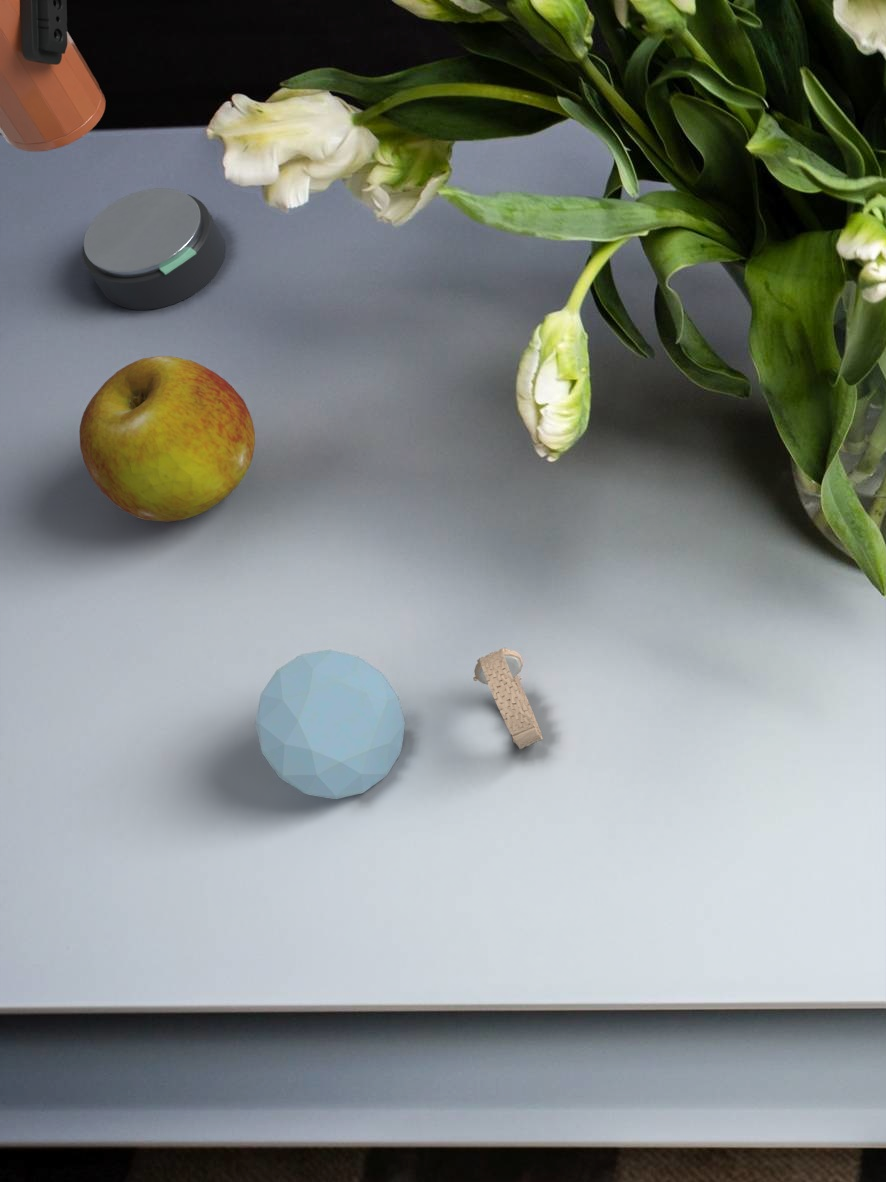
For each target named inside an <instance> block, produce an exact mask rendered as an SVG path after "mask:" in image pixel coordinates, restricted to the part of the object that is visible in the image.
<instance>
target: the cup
mask: <svg viewBox="0 0 886 1182" xmlns="http://www.w3.org/2000/svg"><path fill="white" fill-rule="evenodd" d="M67 42H68V44H67V48H66V51H65V54H62V60H61V62H60V63H59V64H58V65H54V64H44V63H39V62H33V61H29V60H26V59H25V57H24V56H23V53H22V38H21V2H20V0H0V134H1V135H2V137H3V138H4V139H5V141H6V142H7V143H8V144H9V146H12V147H13V148H15V149H17V150H21V151H23V152H28V153H29V152H31V153H34V152H35V153H39V152H48V151H53V150H57V149H59V148H63V147H65V146H68V145H71V144H72V143H74V142H76V141H78V140H79V139H81V138H82V137H84V136H86V135H87V134H88V133H89V132H90V131H92V130H93V128H95V127H96V126H97V124H98V123H99V122H100V121H101V119H102V117H103V116H104V113H105V110H106V105H107V104H106V103H107V102H106V97H105V94H104V93H103V91H102V89H101V88H100V85H99V82H98V81H97V79H96V77H95V76H94V74H93V72H92V71H91V69H90V67H89V66H88V64H87V62H86V60H85V58H84V57H83V55H82V53H81V52H80V51H79V49H78V47H77V46H76V45H77V44H76V43H75V42H74V40H73V39H72V37H71V35H70V33H69V32H68V31H67Z"/></svg>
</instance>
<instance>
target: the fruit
mask: <svg viewBox="0 0 886 1182" xmlns="http://www.w3.org/2000/svg"><path fill="white" fill-rule="evenodd" d="M255 445H256V433H255V427H254V421H253V418H252V415H251V413H250V410H249V408H248V407H247V404H246V402H245V400H244V398H242V396H241V395H240V393H238V392H237V390H236V389H235V388H234V387H233V386H232V385H231V384H230V383H229V382H228V381H227V380H226V379H225V378H223V377H222V376H220V375H219V374H218V373H216V372H215V371H213V370H211V369H209V368H207V367H206V366H204V365H202V364H201V363H197V362H196V361H193V360H190V359H184V358H180V357H175V356H163V355H157V356H150V357H143V358H141V359H138V360H136V361H134V362H132V363H129V364H127V365H125V366H124V367H122V368H121V369H119V370H118V371H116V372H115V373H114V374H113V375H112V376H110V378H109V379H106V381H105V382H104V383H103V384H102V385H101V386H100V388H99V389H98V390H97V392H95V394H94V395H93V396H92V398H91V399H90V401H89V403H88V404H87V406H86V407H85V409H84V411H83V414H82V417H81V420H80V425H79V448H80V451H81V457H82V460H83V462H84V464H85V467H86V469H87V471H88V473H89V475H90V477H91V479H92V480H93V482H94V483H95V484H96V486H97V488H98V489H99V490H100V492H101V493H102V494H103V495H104V496H105V497H106V498H108V499H109V501H111V503H113V504H114V505H115V506H116V507H118V508H119V509H121V510H122V511H124V512H126V513H128V514H130V515H132V516H134V517H135V518H138V519H142V520H144V521H153V522H154V521H155V522H166V523H167V522H168V523H169V522H177V521H182V520H183V521H184V520H187V519H191V518H193V517H194V518H195V517H197V516H199V515H201V514H203V513H205V512H207V511H208V510H210V509H211V508H213V507H214V506H216V505H217V504H219V503H220V502H222V501H224V500H225V499H226V498H227V497H228V496H229V495H230V494H231V493H232V492H233V491H235V489H236V488H237V487H238V486H239V484H240V483H241V482H242V480H243V479H244V477H245V476H246V474H247V472H248V470H249V468H250V466H251V463H252V460H253V458H254V457H253V456H254V453H255Z"/></svg>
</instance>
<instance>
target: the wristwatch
mask: <svg viewBox="0 0 886 1182" xmlns="http://www.w3.org/2000/svg"><path fill="white" fill-rule="evenodd" d="M476 662H477V663H476V664H475V667H474V670H473V671H474V672H473V673H474V677H472V678H473V681H475V682H476V681H478V682H479V683H481V684H483V685H487V686H488V688H489V689H490V692H491V694H492V697H493V699H494V702H495V704H496V706H497V708H498V710H499V713H500V715H501V716H502V719H503V721H504V723H505V725H506V727H507V730H508V732H509V734H510V735H511V736H512V740H511V741H512V742H513V743H514V744H516V746H517V747H518V749H519V750H522V749H524V748H526V747H529V746H530V745H532V744H536V743H537V742H540V741H543V740H544V739H543V734H542V732H541V729H540V726H539V724H538V721H537V719H536V716H535V714H534V711H533V709H532V706H531V704H530V701H529V700H528V697H527V695H526V693H525V691H524V688H523V687H522V683H521V680H522V679H523V678H522V676H521V675H519V673H521V671H522V668H523V666H524V660H523V656H522V655H521V654H520V653H519V652H517V651H516V650H512V649H507V647H502V648H500V649H499V650H495V651H493V652H490V653H488V654H486V655H485V656H480V657H479V658H478V659H477V660H476ZM518 675H519V676H518Z"/></svg>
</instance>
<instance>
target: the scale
mask: <svg viewBox="0 0 886 1182" xmlns="http://www.w3.org/2000/svg"><path fill="white" fill-rule="evenodd" d="M225 241H226V240H225V238H224V236H223V234H222V232H221V231H220V229H219V227H218V225H217V223H216V221H215V219H214V218H213V216H212V215H211V212H210V211H209V209H208V207H207V206H206V205H205V204H204V202H202V201H201V200H200V199H198V198H197V197H195V196H193V195H191V194H188V193H185V192H183V191H181V190H177V189H173V188H166V187H165V188H163V187H161V188H148V189H144V190H139V191H137V192H133V193H130V194H128V195H126V196H123V197H121V198H119V199H118V200H116V201H114V202H112V203H111V204H109V205H108V206H106V207H105V208H104V209H103V210H102V211H101V212H99V214H97V216H96V217H95V218H94V219H93V220H92V221H91V223H90V224H89V226H88V228H87V230H86V232H85V236H84V238H83V245H82V251H81V252H82V261H83V263H84V266H85V267H86V269H87V271H88V272H89V273H90V275H91V277H92V278H93V281H95V283H96V284H97V286H98V287H99V289H100V290H101V292H102V293H103V295H104V296H105V297H106V298H107V299H108V300H109V301H110V302H112V303H113V304H115V305H117V306H119V307H122V308H124V309H128V310H130V309H131V310H134V311H135V310H136V311H137V310H139V311H147V310H149V311H150V310H155V309H156V310H157V309H160V308H165V307H169V306H172V305H175V304H178V303H180V302H182V301H184V300H186V299H188V298H191V297H192V296H193V295H195V294H196V293H198V292H200V291H201V290H202V289H203V288H205V287H206V286H207V285H208V284H209V283H210V282H212V280H213V279H214V278H215V276H216V275H217V274H218V272H219V271H220V269H221V268H222V266H223V264H224V261H225V258H226V250H227V249H226V242H225Z"/></svg>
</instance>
